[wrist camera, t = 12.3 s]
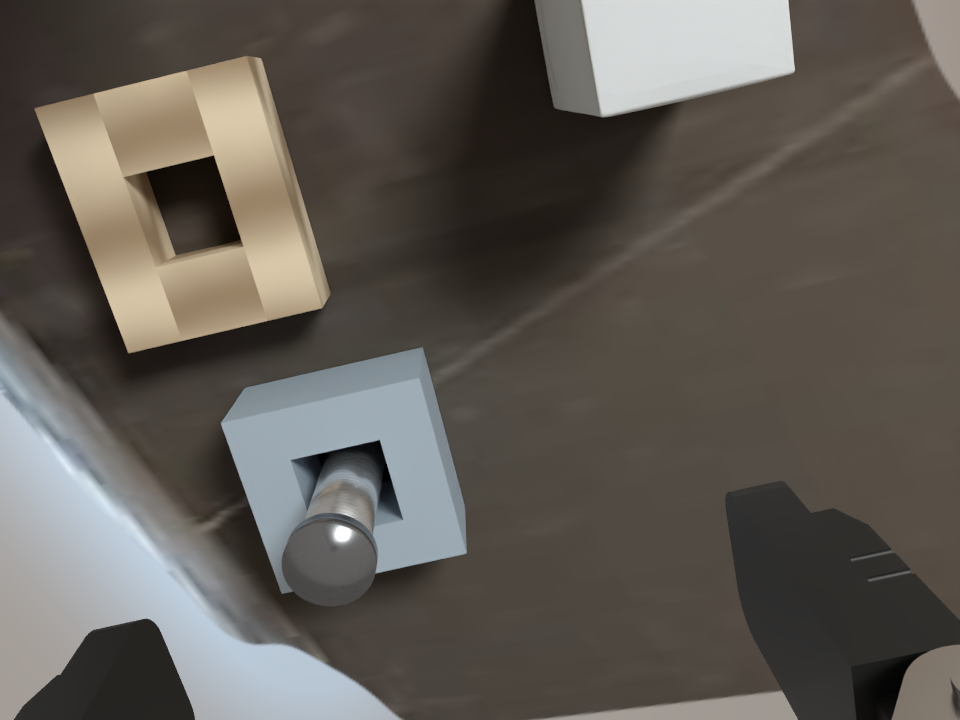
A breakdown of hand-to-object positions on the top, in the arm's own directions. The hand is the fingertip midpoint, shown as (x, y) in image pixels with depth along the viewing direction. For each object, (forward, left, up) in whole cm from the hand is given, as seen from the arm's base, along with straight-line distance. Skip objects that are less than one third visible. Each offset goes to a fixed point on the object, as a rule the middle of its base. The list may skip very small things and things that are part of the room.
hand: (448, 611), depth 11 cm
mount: (-4, -12, -33) cm, 35 cm away
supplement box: (-8, +10, -33) cm, 36 cm away
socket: (+11, -8, -33) cm, 36 cm away
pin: (+11, -8, -33) cm, 36 cm away
